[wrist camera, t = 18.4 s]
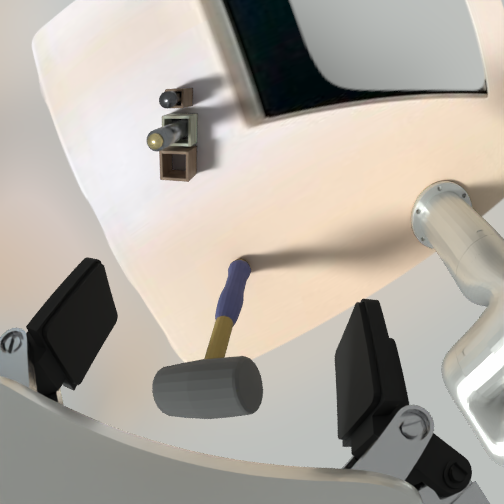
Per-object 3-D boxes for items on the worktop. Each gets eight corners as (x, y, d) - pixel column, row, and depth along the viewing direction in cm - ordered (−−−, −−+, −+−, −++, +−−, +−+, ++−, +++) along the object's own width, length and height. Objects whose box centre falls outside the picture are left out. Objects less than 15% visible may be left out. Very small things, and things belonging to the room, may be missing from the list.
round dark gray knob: (190, 89, 38) (175, 91, 33) (190, 104, 39) (175, 108, 34) (175, 89, 38) (159, 91, 33) (175, 104, 39) (159, 108, 34)
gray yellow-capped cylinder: (192, 119, 41) (164, 130, 32) (192, 136, 42) (164, 152, 33) (175, 119, 41) (144, 130, 32) (175, 136, 43) (144, 152, 34)
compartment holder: (198, 88, 38) (189, 88, 35) (196, 173, 46) (188, 181, 42) (170, 88, 38) (159, 89, 35) (170, 171, 46) (160, 179, 43)
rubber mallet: (264, 237, 50) (231, 396, 25) (280, 271, 54) (263, 427, 28) (202, 258, 54) (139, 399, 29) (221, 288, 58) (175, 428, 32)
